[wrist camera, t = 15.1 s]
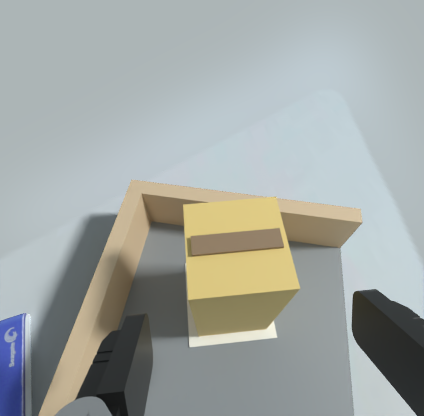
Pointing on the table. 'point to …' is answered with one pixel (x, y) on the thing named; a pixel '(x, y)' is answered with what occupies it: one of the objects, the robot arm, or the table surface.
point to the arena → (222, 343)
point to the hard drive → (15, 366)
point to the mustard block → (237, 265)
